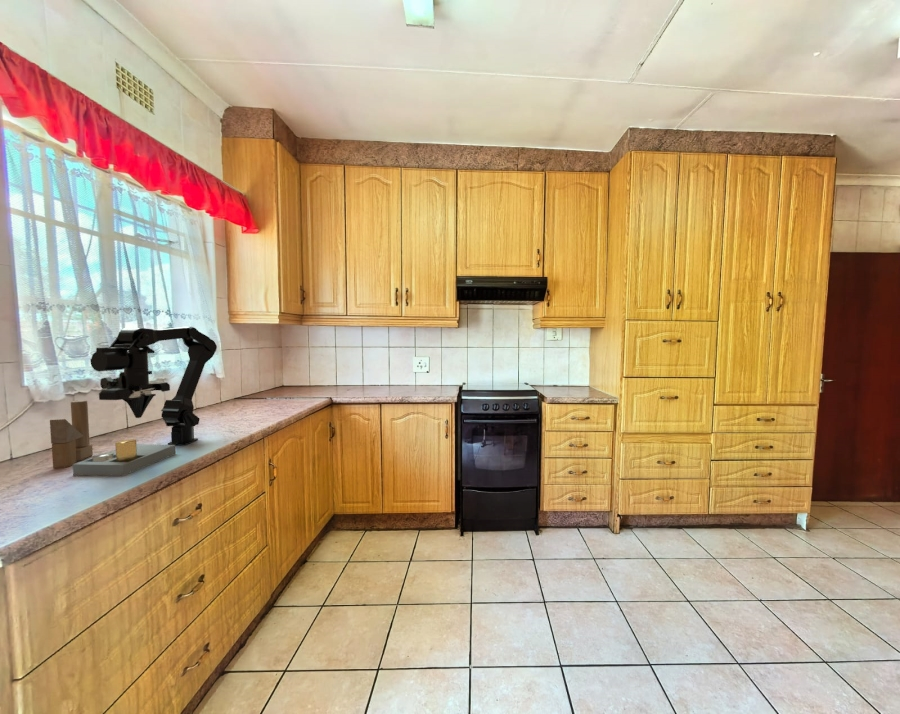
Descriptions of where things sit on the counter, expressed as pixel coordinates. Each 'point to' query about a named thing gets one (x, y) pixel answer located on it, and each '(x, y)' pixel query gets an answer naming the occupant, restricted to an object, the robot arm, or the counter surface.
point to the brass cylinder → (126, 450)
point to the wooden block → (71, 437)
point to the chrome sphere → (103, 457)
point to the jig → (112, 468)
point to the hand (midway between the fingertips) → (138, 417)
